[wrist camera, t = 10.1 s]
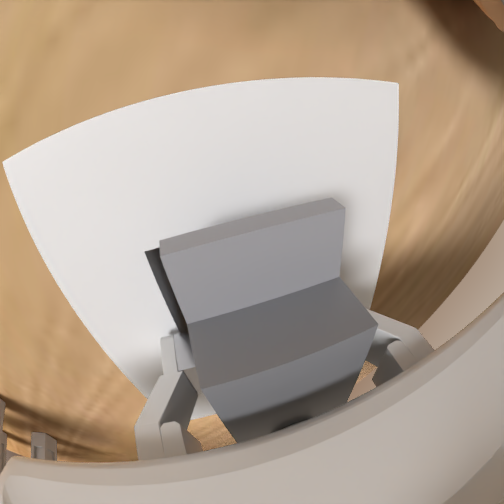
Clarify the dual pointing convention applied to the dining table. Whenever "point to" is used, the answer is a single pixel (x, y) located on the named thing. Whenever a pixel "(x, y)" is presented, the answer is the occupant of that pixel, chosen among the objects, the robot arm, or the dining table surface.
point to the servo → (270, 315)
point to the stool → (40, 443)
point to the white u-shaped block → (201, 193)
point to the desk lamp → (493, 11)
